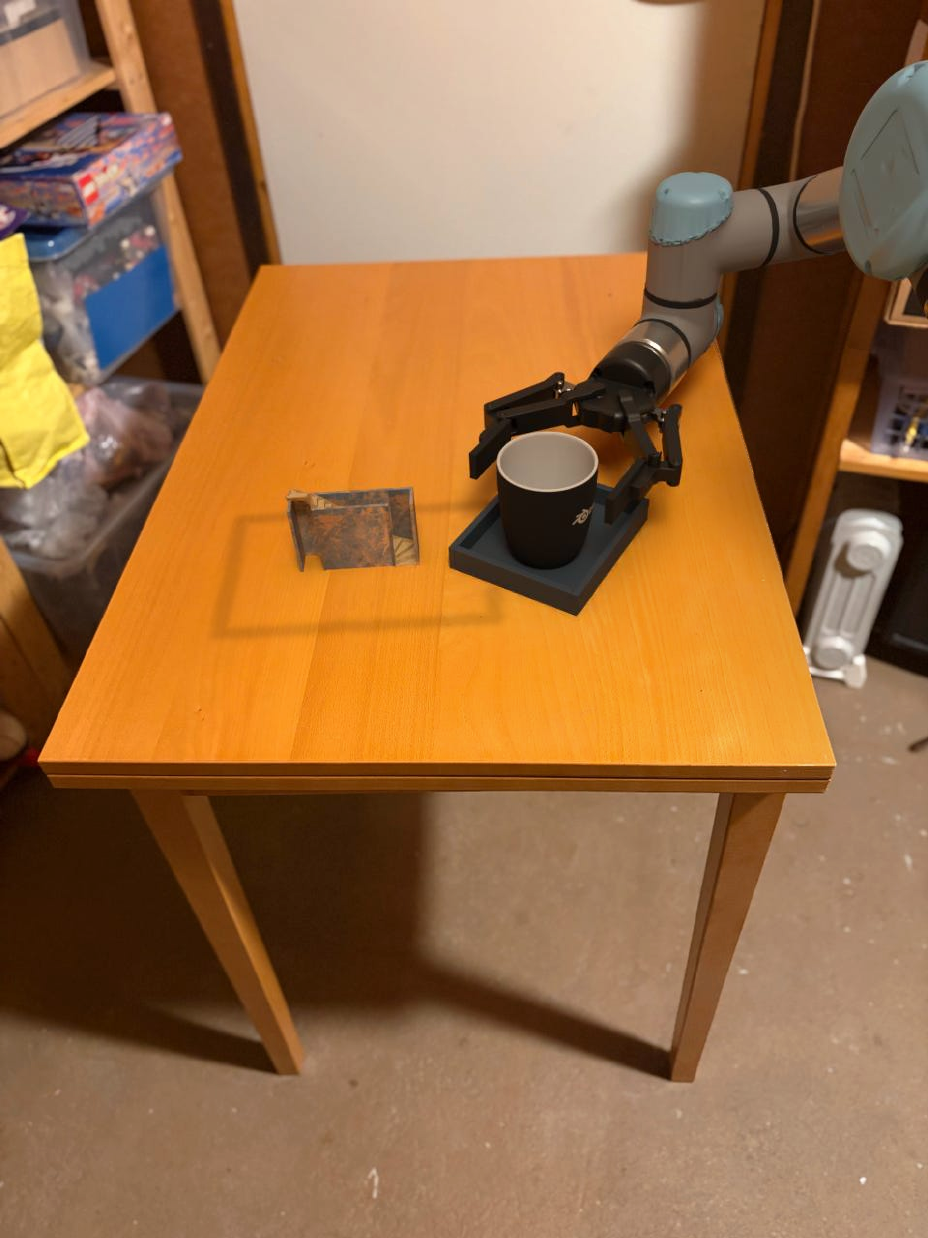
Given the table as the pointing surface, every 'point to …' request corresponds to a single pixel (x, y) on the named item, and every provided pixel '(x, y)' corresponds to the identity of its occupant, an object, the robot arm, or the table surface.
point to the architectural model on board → (355, 527)
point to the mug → (546, 496)
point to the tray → (559, 587)
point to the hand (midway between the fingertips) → (538, 488)
